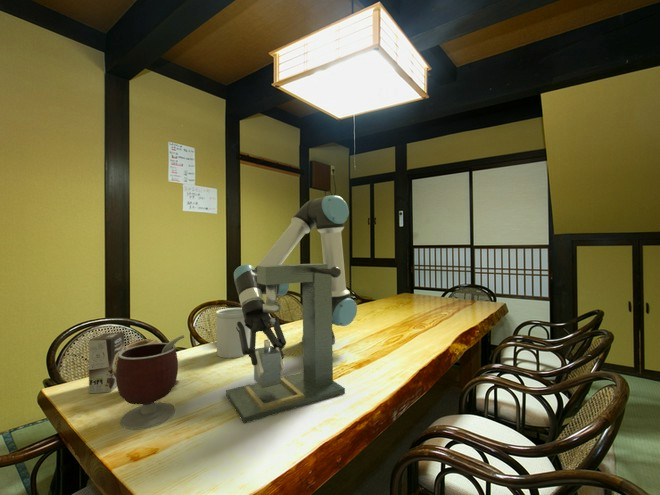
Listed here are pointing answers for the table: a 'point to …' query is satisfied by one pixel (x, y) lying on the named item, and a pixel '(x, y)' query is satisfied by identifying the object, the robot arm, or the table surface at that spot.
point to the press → (316, 345)
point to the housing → (268, 366)
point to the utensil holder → (229, 333)
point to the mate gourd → (147, 382)
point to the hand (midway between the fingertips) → (271, 372)
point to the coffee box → (104, 361)
